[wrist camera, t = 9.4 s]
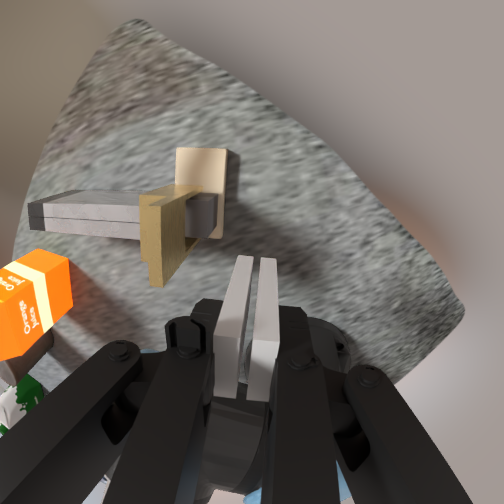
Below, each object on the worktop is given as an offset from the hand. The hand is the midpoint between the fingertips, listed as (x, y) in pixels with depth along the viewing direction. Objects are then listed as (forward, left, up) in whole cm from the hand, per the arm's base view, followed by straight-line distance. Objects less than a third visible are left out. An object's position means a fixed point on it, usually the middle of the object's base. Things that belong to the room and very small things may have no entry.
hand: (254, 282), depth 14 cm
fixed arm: (+18, +1, -18) cm, 26 cm away
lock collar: (+8, 0, -15) cm, 17 cm away
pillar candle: (+43, +26, -19) cm, 53 cm away
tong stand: (+7, -2, -18) cm, 20 cm away
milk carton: (+57, +49, -19) cm, 77 cm away
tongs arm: (+18, -1, -18) cm, 26 cm away
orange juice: (+33, +13, -19) cm, 40 cm away
